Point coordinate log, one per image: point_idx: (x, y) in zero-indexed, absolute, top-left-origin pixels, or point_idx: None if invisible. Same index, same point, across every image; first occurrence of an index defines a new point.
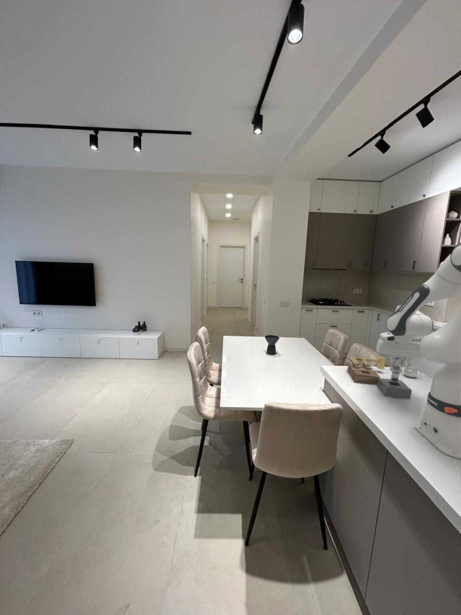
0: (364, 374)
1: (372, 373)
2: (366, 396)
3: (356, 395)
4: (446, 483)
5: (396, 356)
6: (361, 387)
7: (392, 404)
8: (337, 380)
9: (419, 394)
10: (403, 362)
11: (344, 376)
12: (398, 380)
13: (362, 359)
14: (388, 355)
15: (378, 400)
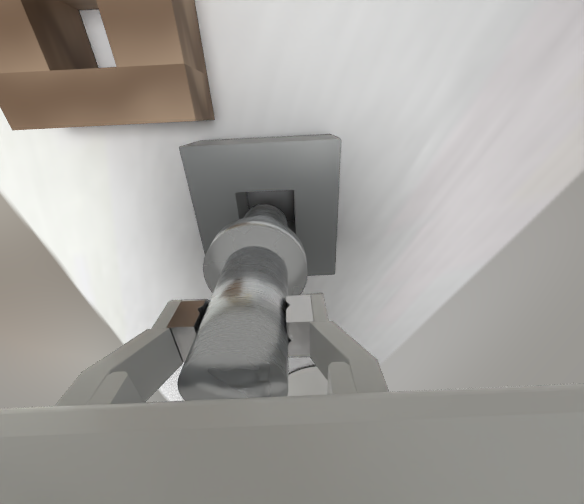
0: (73, 108)
1: (136, 48)
2: (143, 277)
3: (102, 280)
4: None
5: (211, 374)
6: (114, 189)
7: None
8: None
9: (409, 178)
10: (305, 349)
11: None
12: (317, 151)
13: None
14: (78, 377)
15: (189, 294)
